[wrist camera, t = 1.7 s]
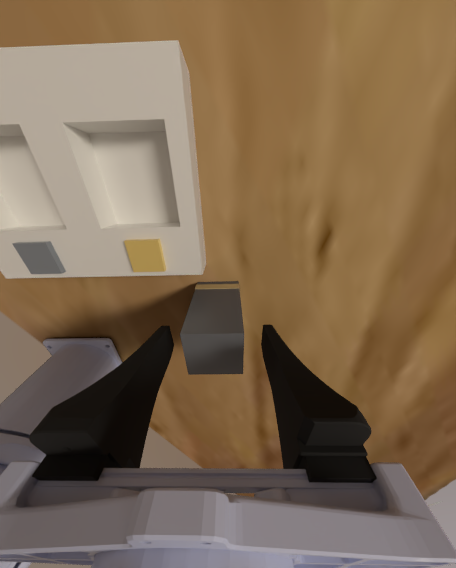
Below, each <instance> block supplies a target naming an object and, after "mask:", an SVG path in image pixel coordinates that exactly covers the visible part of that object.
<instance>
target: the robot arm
mask: <svg viewBox="0 0 456 568" xmlns="http://www.w3.org/2000/svg"><path fill="white" fill-rule="evenodd" d="M43 344H44V346H45V347H46V348H47V350H48V351H49V352H50V354H51V355H52V357H50V358H49V359H48V360H47V361H46V362H45V363H44V364H43V365H42V366H41V367H40V368H39V369H38V370H36V371H35V372H34V373H33V374H32V375H31V376H30V377H29V378H28V379H27V380H26V381H25V382H24V383H23V384H21V385H20V386H19V387H18V388H17V389H16V390H15V391H14V392H13V393H12V394H11V395H10V396H8V397H7V398H6V399H5V400H4V401H3V402H2V403H1V404H0V568H28V567H29V566H30V564H31V563H54V564H77V565H78V564H79V565H92V566H91V568H431V567H438V566H444V565H450V564H456V550H455V548H454V546H453V545H452V543H451V542H450V540H449V538H448V537H447V535H446V534H445V532H444V530H443V529H442V527H441V526H440V524H439V522H438V521H437V519H436V518H435V516H434V515H433V513H432V511H431V510H430V508H429V507H428V505H427V503H426V502H425V500H424V499H423V497H422V495H421V494H420V492H419V491H418V489H417V487H416V486H415V484H414V483H413V481H412V480H411V478H410V476H409V475H408V473H407V472H406V470H405V468H404V467H403V465H402V464H400V463H384V462H378V463H372V464H369V462H368V460H367V458H366V456H367V452H366V450H365V448H364V446H363V444H364V443H365V441H366V440H367V439H368V438H369V436H370V434H371V428H370V426H369V425H368V423H367V421H366V419H365V418H364V416H363V415H362V413H361V412H360V411H359V409H358V408H357V406H355V405H354V404H352V403H351V402H349V401H348V400H347V399H345V398H344V397H342V396H341V395H339V394H338V393H337V392H335V391H334V390H333V389H331V388H330V387H329V386H327V385H326V384H325V383H324V382H323V381H321V380H320V379H319V378H318V377H317V376H315V375H314V374H313V373H312V372H311V371H310V370H309V369H308V368H307V367H306V366H305V365H304V364H303V363H302V362H301V361H300V360H299V359H298V358H297V357H296V356H295V355H294V354H293V352H292V351H291V350H290V349H289V348H288V346H287V345H286V344H285V343H284V341H283V340H282V339H281V337H280V336H279V335H278V333H277V332H276V330H275V329H274V327H273V326H272V325H263V332H262V342H261V345H262V352H263V358H264V362H265V366H266V370H267V374H268V377H269V381H270V385H271V389H272V394H273V400H274V405H275V412H276V418H277V424H278V431H279V438H280V445H281V452H282V459H283V467H284V469H199V468H197V469H195V468H193V469H189V468H140V462H141V458H142V453H143V448H144V444H145V440H146V436H147V431H148V427H149V423H150V419H151V415H152V411H153V408H154V404H155V400H156V397H157V393H158V391H159V388H160V385H161V382H162V380H163V377H164V374H165V372H166V369H167V367H168V364H169V361H170V359H171V355H172V351H173V347H174V343H173V339H172V335H171V331H170V327H169V326H161V327H160V328H159V329H158V330H157V331H156V332H155V333H154V334H153V335H152V336H151V337H150V338H149V339H148V340H147V341H146V342H145V343H144V344H143V345H142V346H141V347H140V348H139V349H138V350H137V351H135V352H134V353H133V354H132V355H131V356H130V357H129V358H128V359H126V360H125V361H124V362H123V363H122V361H121V359H120V357H119V355H118V353H117V350H116V348H115V346H114V344H113V342H112V340H111V339H109V338H66V339H46V340H44V341H43ZM225 493H255V494H254V497H249V496H240V495H231V494H225Z"/></svg>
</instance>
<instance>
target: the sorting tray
mask: <svg viewBox="0 0 456 568" xmlns="http://www.w3.org/2000/svg"><path fill="white" fill-rule="evenodd" d="M205 265H206V255H205V244H204V233H203V221H202V210H201V199H200V188H199V177H198V166H197V155H196V144H195V132H194V121H193V110H192V99H191V88H190V77H189V71H188V68H187V65H186V62H185V59H184V56H183V53H182V50H181V47H180V44H179V41H178V40H176V41H152V42H127V43H103V44H79V45H55V46H30V47H6V48H0V271H1V272H2V274H3V275H4V276H5V278H55V277H106V276H157V275H203V272H204V269H205Z"/></svg>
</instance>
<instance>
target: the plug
mask: <svg viewBox="0 0 456 568" xmlns="http://www.w3.org/2000/svg"><path fill="white" fill-rule="evenodd" d="M180 337H181V341H182V346H183V351H184V356H185V360H186V365H187V370H188V374H243V352H244V328H243V319H242V310H241V300H240V285H239V281H232V282H198V283H197V285H196V287H195V292H194V295H193V298H192V301H191V304H190V307H189V309H188V312H187V315H186V318H185V321H184V324H183V327H182V330H181V333H180Z"/></svg>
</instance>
